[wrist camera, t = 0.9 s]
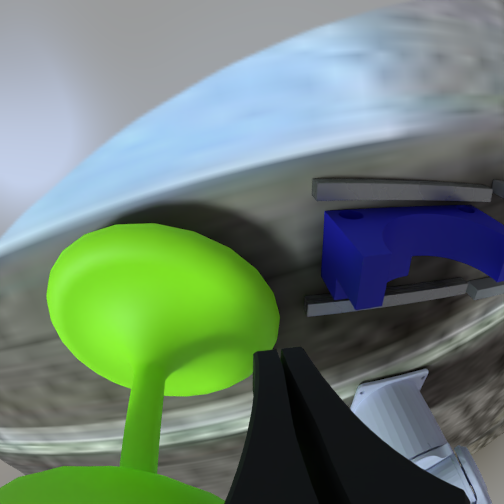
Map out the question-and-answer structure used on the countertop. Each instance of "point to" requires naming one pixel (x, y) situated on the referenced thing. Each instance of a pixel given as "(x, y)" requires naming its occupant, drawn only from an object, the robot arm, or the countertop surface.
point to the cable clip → (403, 246)
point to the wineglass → (150, 346)
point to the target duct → (489, 285)
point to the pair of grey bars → (394, 191)
